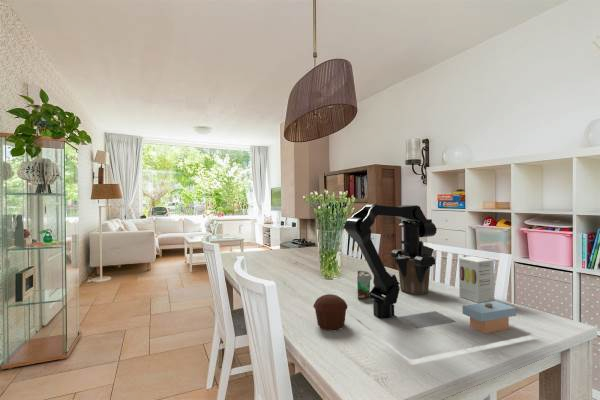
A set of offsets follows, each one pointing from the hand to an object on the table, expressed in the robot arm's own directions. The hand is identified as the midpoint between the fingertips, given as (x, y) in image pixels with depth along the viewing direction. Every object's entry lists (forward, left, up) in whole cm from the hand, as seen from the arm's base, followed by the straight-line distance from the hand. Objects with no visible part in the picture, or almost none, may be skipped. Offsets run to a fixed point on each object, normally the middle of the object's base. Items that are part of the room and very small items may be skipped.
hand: (412, 279), depth 114 cm
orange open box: (+12, -22, -12) cm, 28 cm away
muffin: (-34, -1, -12) cm, 36 cm away
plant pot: (+17, +21, -12) cm, 30 cm away
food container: (-8, +22, -12) cm, 26 cm away
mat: (-2, -10, -12) cm, 16 cm away
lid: (+12, -22, -7) cm, 26 cm away
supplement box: (+34, +3, -12) cm, 36 cm away
